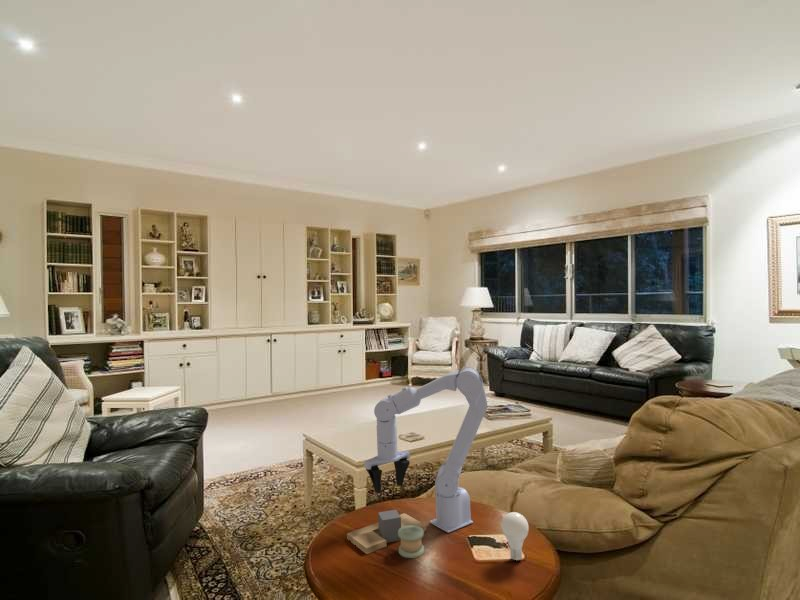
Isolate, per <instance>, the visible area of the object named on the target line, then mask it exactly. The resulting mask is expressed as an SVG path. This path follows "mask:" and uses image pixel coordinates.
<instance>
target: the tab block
mask: <svg viewBox="0 0 800 600" xmlns="http://www.w3.org/2000/svg"><path fill="white" fill-rule="evenodd" d="M377 513H378V515H377V517H378V518H377V520H378V521H377V523H378V524H379V534H378V535H379V536H381V537H382V538H383V539H385V540H386V543H387V544H388V543H392V542H398V541H401V538H399V536H398V530H399V529H400V528H401V517H400V515H401V514H399V512H398V510H397V509H391V510H385V511H379V512H377Z"/></svg>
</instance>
